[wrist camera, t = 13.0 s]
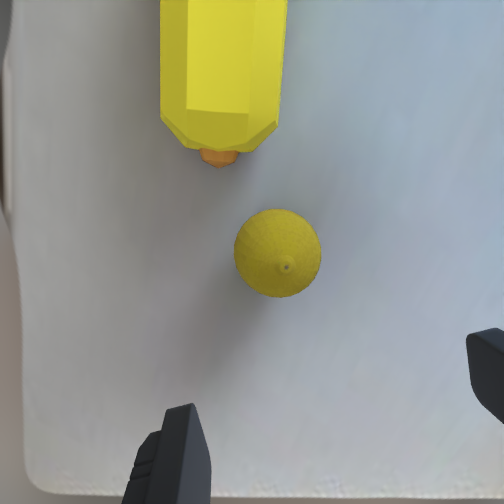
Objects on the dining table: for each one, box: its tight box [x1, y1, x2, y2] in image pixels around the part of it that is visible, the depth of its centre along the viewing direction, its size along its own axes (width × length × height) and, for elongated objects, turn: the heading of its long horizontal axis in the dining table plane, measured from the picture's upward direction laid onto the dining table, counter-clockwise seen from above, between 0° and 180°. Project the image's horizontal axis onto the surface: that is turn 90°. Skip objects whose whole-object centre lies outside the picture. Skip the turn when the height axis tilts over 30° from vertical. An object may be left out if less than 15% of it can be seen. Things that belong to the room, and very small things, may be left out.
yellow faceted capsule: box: [160, 0, 288, 168], centre depth 22 cm, size 18×7×8 cm
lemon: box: [234, 209, 321, 298], centre depth 24 cm, size 6×6×8 cm
